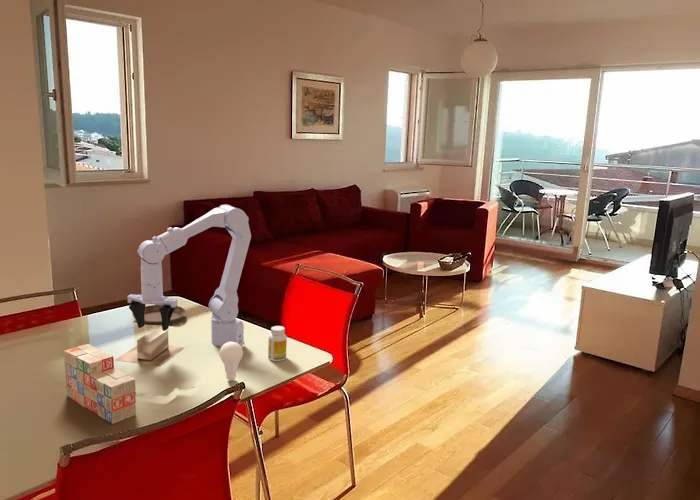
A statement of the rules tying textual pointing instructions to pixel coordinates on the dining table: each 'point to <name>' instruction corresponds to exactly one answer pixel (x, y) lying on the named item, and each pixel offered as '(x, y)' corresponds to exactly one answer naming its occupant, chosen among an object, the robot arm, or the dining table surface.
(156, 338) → the block
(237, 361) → the lightbulb
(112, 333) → the dining table surface
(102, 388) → the stack of blocks
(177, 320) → the plant saucer
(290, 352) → the dining table surface
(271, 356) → the supplement bottle
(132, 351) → the oak board
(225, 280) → the robot arm
